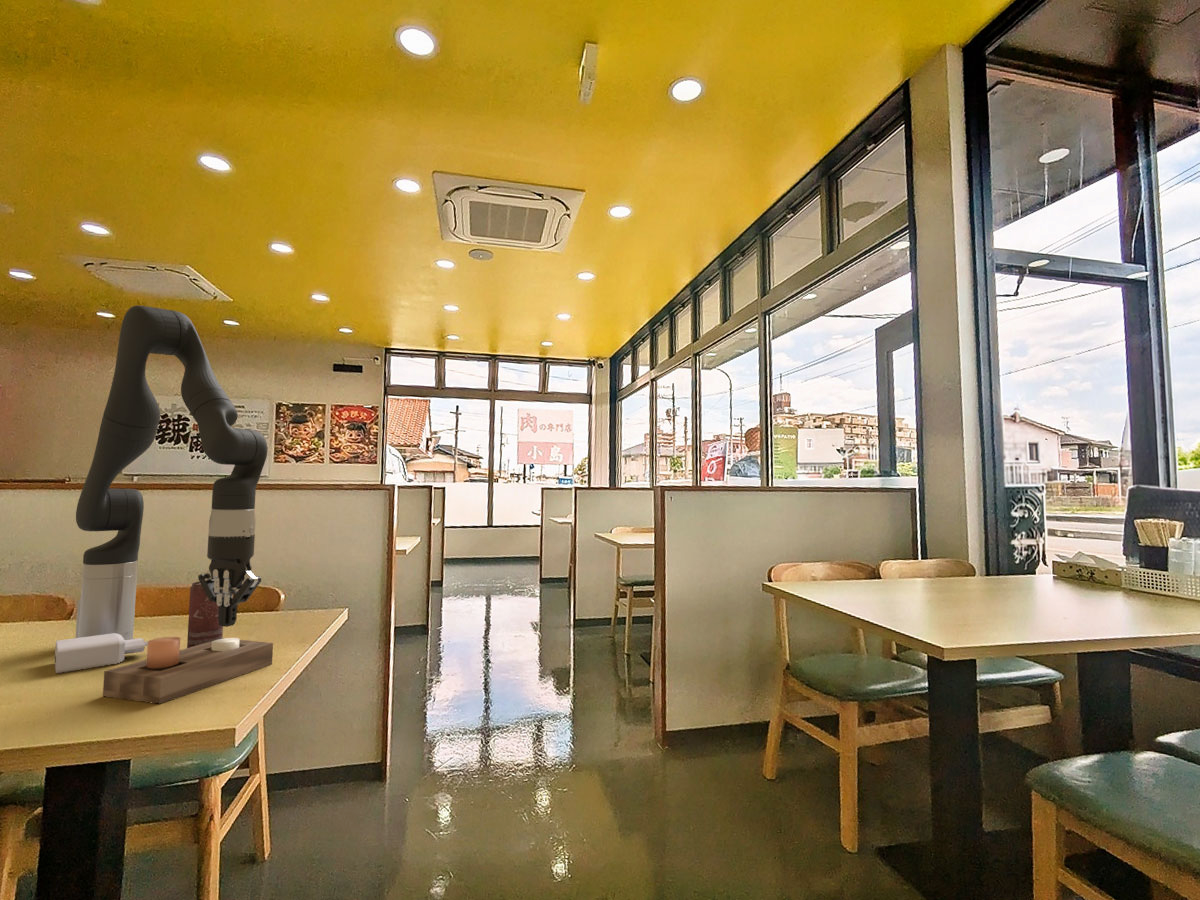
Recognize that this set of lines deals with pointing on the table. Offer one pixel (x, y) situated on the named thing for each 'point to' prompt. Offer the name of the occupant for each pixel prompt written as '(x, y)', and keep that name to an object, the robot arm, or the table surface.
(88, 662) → the charger
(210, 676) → the button panel
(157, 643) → the terracotta button
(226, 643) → the offwhite button
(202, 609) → the can
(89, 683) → the table surface
